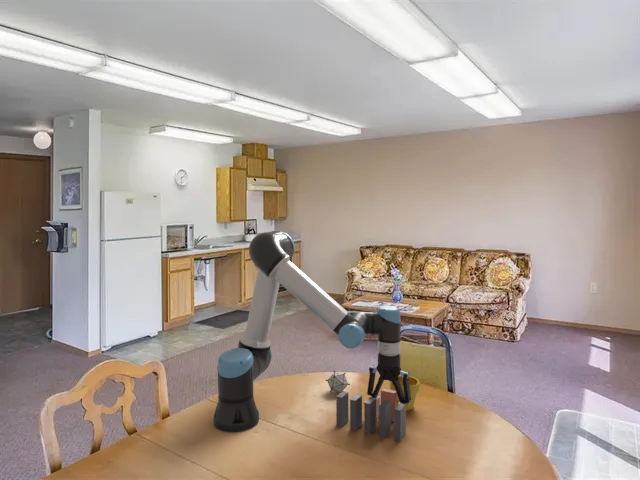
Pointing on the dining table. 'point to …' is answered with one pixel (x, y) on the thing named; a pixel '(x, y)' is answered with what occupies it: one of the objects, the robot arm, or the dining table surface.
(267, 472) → the dining table surface
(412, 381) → the plant pot
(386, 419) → the domino
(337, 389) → the game die
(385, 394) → the domino
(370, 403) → the domino
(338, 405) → the domino
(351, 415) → the domino
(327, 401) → the dining table surface
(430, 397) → the dining table surface
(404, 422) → the domino
